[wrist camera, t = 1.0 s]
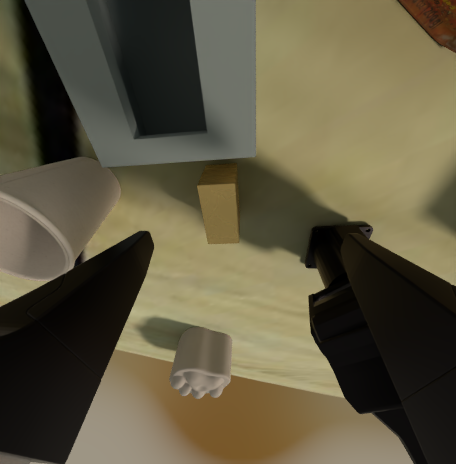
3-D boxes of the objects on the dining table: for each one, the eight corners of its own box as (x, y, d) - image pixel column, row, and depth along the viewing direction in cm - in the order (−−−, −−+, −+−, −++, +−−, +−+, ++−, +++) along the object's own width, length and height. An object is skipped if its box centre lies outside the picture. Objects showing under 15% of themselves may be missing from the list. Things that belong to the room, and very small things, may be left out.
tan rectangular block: (239, 215, 23) (239, 243, 19) (214, 216, 23) (208, 243, 19) (236, 162, 19) (234, 183, 15) (206, 164, 20) (197, 185, 16)
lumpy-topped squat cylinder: (238, 337, 40) (237, 389, 33) (214, 359, 47) (209, 406, 41) (189, 323, 38) (177, 376, 31) (172, 349, 45) (159, 396, 38)
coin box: (251, 133, 18) (255, 156, 12) (144, 142, 19) (102, 167, 13) (249, -82, 11) (254, -251, 5) (84, -50, 12) (-53, -166, 6)
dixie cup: (62, 206, 23) (-31, 268, 15) (42, 130, 19) (-111, 166, 11) (134, 223, 24) (80, 291, 16) (132, 156, 19) (55, 207, 11)
